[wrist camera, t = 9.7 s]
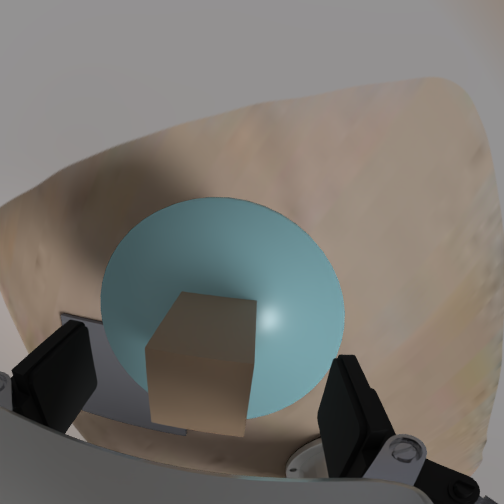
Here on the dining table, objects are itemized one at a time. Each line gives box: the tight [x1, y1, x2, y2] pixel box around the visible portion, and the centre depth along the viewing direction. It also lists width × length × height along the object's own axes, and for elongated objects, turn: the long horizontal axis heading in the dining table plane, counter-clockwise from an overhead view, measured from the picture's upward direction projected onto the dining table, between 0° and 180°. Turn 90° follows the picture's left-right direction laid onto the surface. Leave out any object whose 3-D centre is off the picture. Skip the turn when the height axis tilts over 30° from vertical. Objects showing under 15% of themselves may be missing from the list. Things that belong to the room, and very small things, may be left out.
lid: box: [101, 197, 345, 437], centre depth 12 cm, size 12×12×6 cm
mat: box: [61, 313, 187, 436], centre depth 28 cm, size 13×13×1 cm
